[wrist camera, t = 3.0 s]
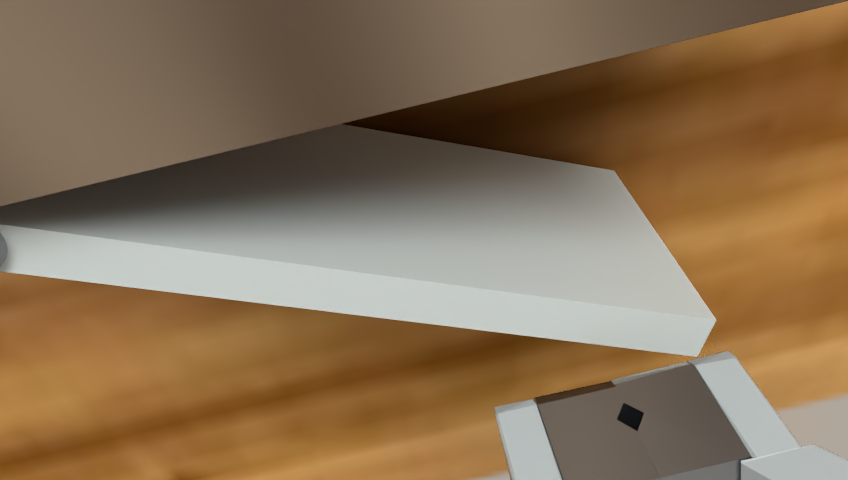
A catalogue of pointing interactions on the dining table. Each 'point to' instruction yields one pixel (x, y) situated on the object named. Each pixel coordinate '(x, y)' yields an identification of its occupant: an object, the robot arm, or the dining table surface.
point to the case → (283, 68)
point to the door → (378, 238)
